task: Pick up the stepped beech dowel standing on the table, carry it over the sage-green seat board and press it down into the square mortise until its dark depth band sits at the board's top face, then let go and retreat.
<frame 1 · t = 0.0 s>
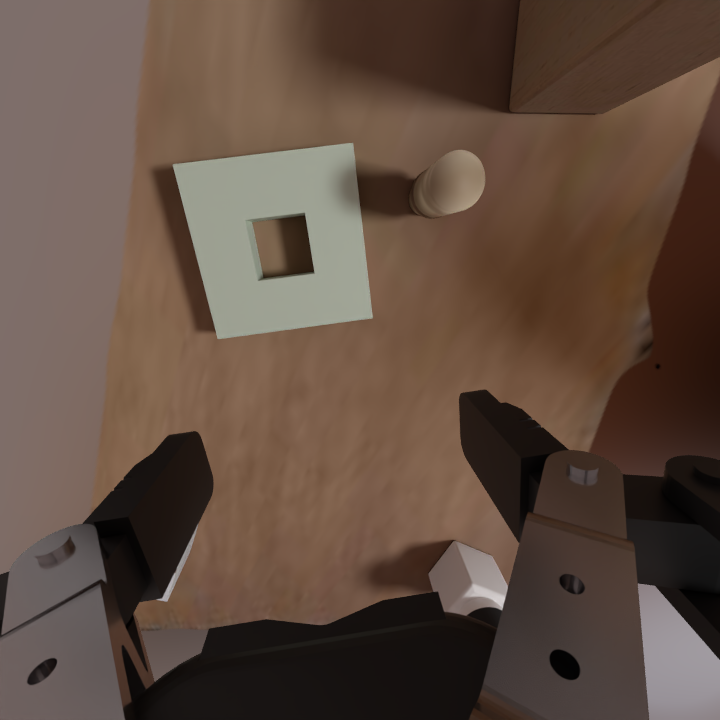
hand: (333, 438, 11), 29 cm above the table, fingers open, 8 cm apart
wooden block: (562, 53, 33), on the table
seat board: (284, 247, 37), on the table
peg: (425, 198, 36), on the table
medicine bottle: (459, 563, 52), on the table
skincare box: (174, 527, 47), on the table
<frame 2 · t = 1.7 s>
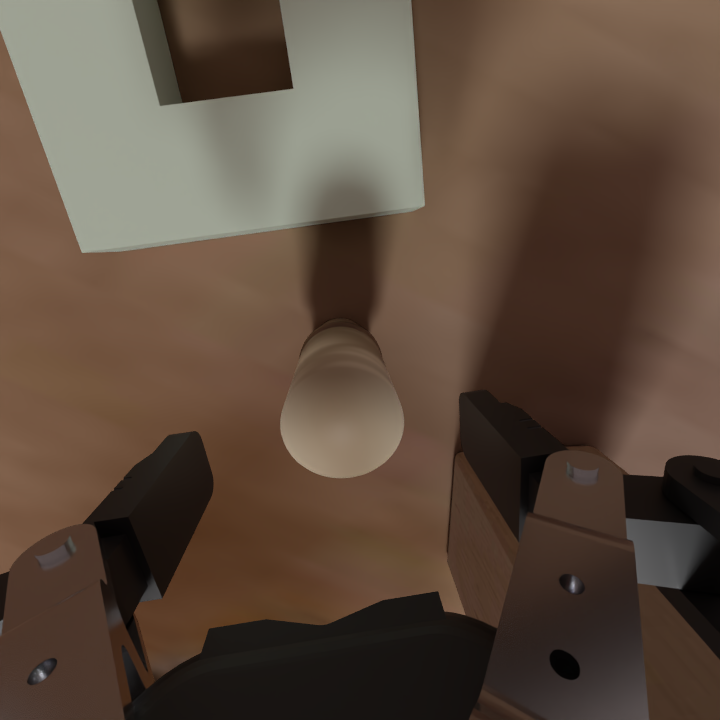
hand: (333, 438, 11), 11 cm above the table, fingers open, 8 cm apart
wooden block: (514, 502, 26), on the table
seat board: (231, 52, 17), on the table
peg: (340, 345, 21), on the table
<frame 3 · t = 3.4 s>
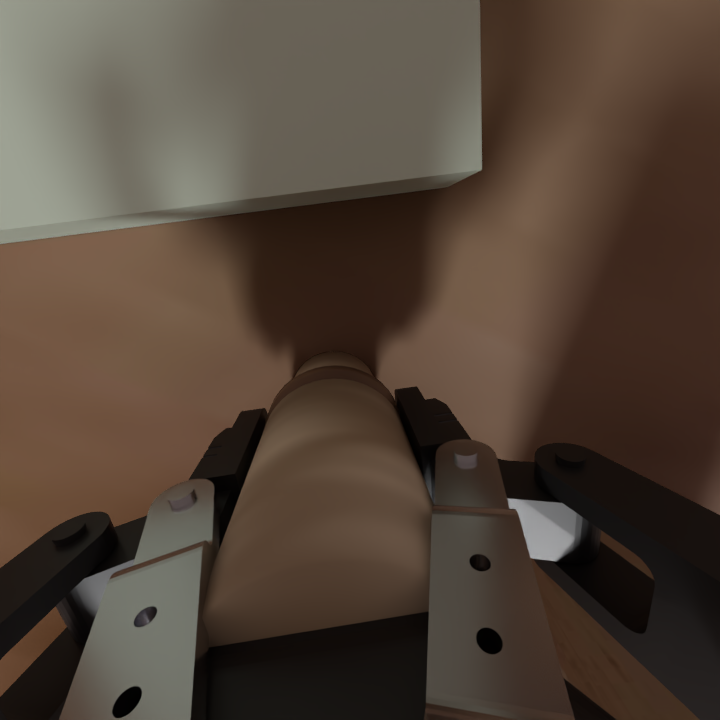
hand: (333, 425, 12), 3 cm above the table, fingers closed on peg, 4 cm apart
wooden block: (570, 594, 19), on the table
peg: (334, 391, 14), on the table, touching gripper
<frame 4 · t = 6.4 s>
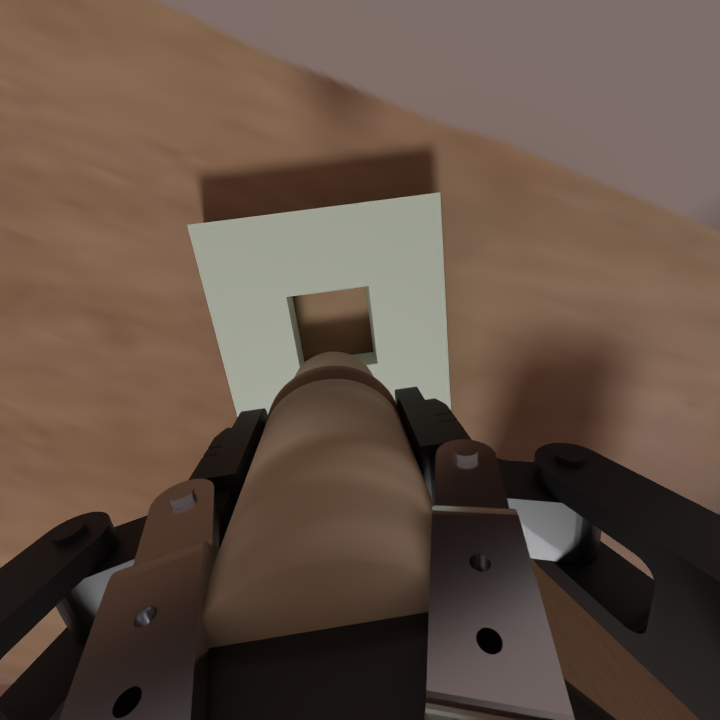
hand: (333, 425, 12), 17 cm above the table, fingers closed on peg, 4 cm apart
wooden block: (505, 571, 37), on the table
seat board: (333, 322, 27), on the table
peg: (334, 391, 14), point 14 cm above the table, touching gripper
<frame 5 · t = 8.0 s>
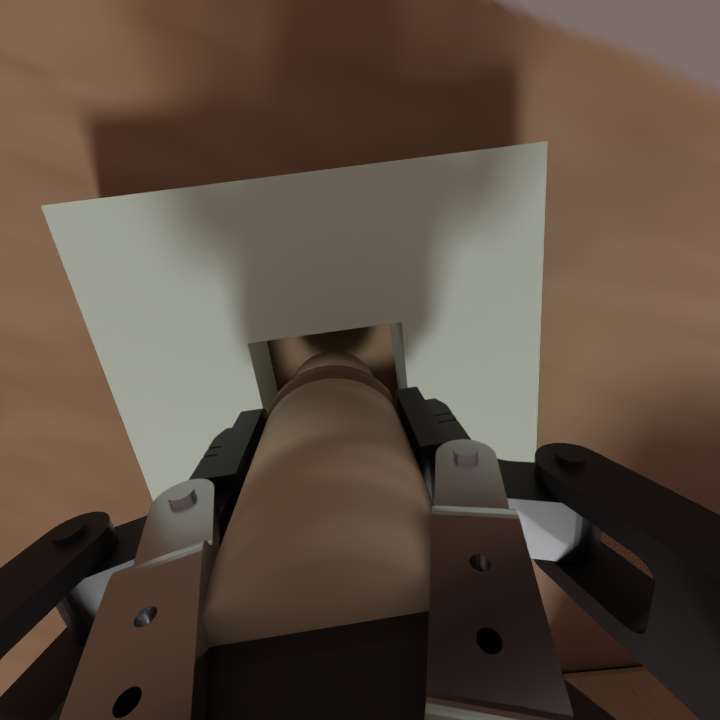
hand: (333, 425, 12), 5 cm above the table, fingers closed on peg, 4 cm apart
wooden block: (580, 709, 26), on the table
seat board: (336, 375, 16), on the table
peg: (334, 391, 14), point 2 cm above the table, touching gripper
when the fingers open (4 cm above the table, at t = 9.3 s): peg stays where it is, resting in seat board.
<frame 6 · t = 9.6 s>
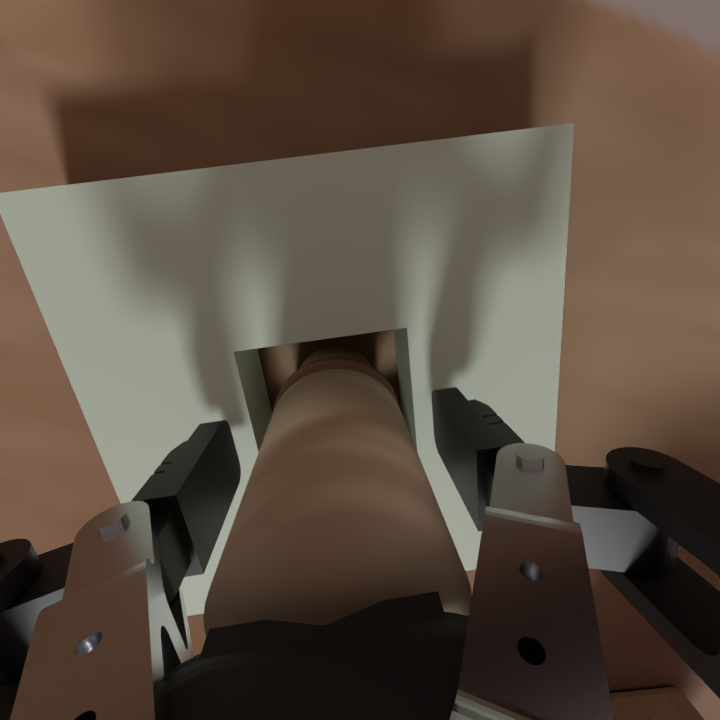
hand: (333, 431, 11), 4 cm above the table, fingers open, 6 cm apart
seat board: (333, 384, 15), on the table
peg: (336, 383, 15), resting in seat board
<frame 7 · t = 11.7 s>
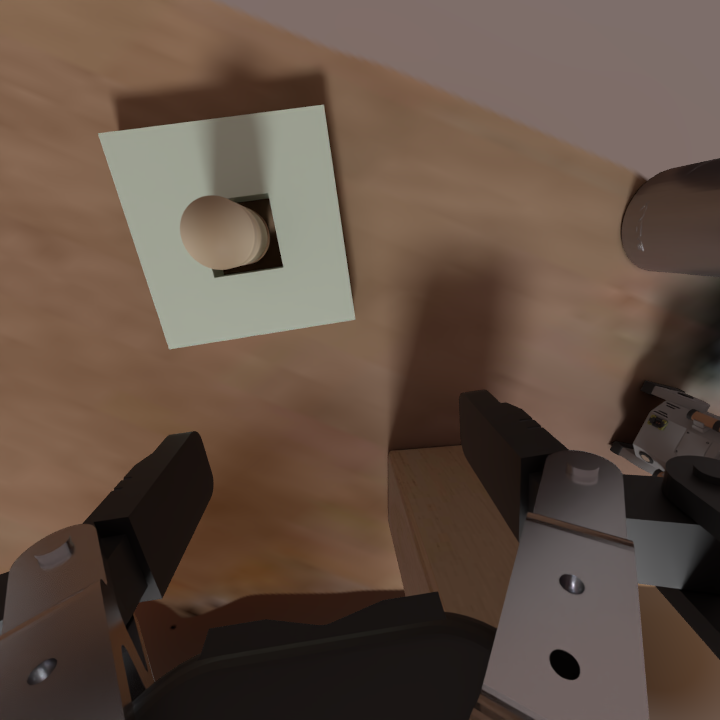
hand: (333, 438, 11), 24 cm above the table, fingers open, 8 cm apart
wooden block: (429, 482, 41), on the table
figurine: (653, 419, 41), on the table
seat board: (248, 237, 31), on the table
peg: (249, 236, 31), resting in seat board
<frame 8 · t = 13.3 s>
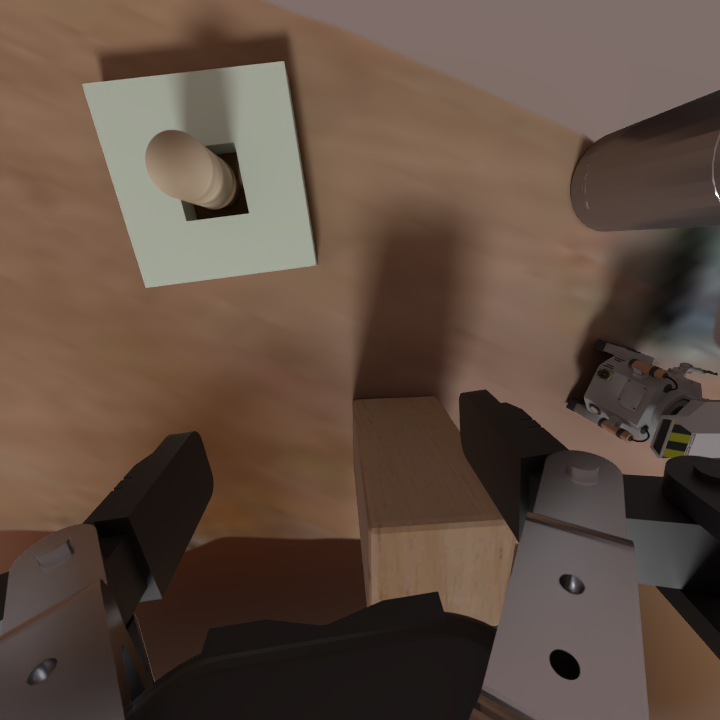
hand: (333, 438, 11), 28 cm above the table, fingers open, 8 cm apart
wooden block: (393, 432, 43), on the table
figurine: (608, 379, 43), on the table
seat board: (220, 188, 33), on the table
peg: (221, 187, 33), resting in seat board
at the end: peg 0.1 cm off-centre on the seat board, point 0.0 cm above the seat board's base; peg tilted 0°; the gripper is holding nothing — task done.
